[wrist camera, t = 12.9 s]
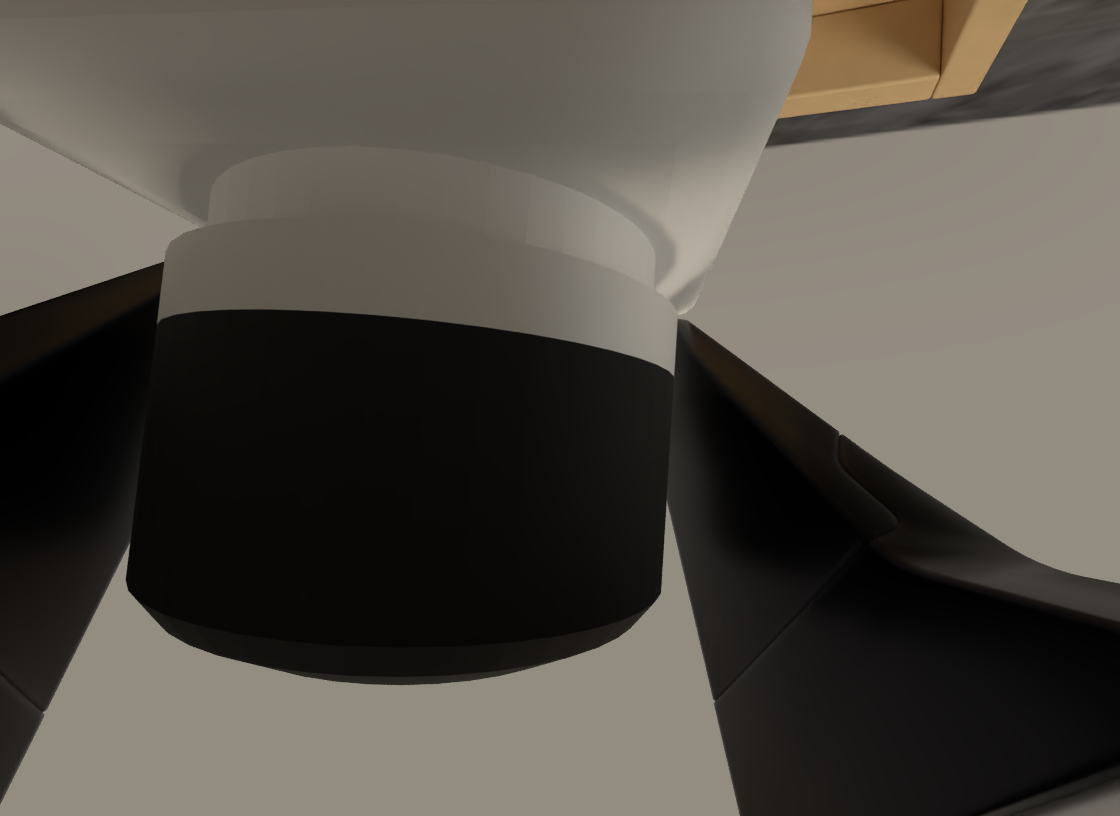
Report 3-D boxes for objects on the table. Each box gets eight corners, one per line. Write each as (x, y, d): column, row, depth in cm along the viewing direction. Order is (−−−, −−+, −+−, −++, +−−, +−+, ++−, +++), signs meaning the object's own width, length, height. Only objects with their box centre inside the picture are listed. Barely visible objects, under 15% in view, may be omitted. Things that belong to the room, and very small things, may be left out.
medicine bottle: (-12, -725, 5) (-243, 713, 4) (872, -940, 4) (790, 890, 3) (372, -25, 12) (315, 544, 11) (716, -39, 11) (679, 583, 10)
